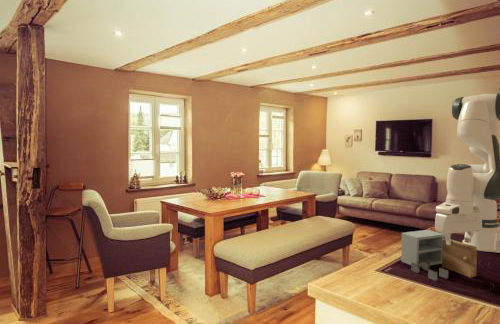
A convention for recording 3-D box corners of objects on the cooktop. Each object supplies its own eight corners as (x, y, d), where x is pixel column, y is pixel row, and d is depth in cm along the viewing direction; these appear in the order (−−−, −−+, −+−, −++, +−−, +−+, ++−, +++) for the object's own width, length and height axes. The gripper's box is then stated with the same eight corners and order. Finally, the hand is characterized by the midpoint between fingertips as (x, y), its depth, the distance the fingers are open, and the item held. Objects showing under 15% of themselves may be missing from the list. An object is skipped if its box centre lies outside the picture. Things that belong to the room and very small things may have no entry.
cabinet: (427, 257, 147) (427, 229, 146) (443, 263, 139) (443, 234, 139) (401, 261, 142) (401, 232, 142) (416, 267, 135) (416, 237, 134)
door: (447, 265, 137) (448, 238, 136) (476, 276, 126) (476, 246, 125) (440, 266, 136) (440, 239, 135) (468, 277, 124) (468, 248, 124)
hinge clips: (423, 268, 134) (423, 260, 134) (448, 278, 124) (448, 270, 124) (411, 270, 132) (411, 262, 132) (435, 280, 122) (435, 272, 122)
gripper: (471, 204, 136) (470, 239, 136) (432, 207, 129) (431, 243, 130) (487, 207, 130) (486, 243, 130) (446, 210, 123) (445, 248, 124)
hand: (458, 243), depth 130 cm, fingers open, 8 cm apart
